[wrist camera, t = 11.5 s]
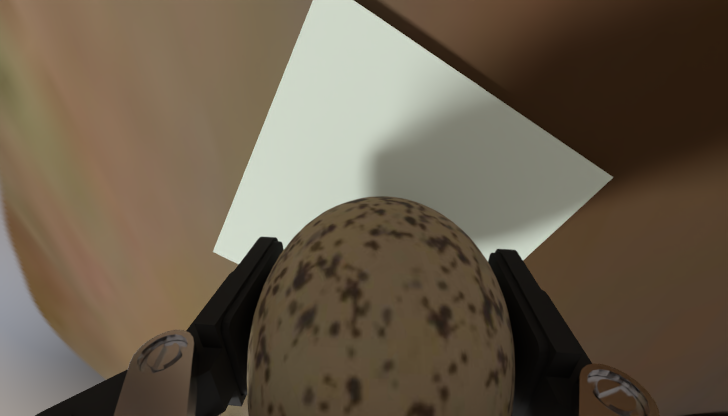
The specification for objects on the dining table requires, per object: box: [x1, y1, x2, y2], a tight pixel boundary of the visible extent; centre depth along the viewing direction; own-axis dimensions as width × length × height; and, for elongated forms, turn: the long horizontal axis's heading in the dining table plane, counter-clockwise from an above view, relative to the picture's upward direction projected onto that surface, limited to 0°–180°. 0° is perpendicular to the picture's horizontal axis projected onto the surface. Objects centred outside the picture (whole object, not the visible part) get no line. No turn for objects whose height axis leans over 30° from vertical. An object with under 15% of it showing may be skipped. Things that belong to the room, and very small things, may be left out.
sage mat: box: [213, 0, 613, 264], centre depth 15 cm, size 14×14×1 cm
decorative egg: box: [247, 196, 515, 416], centre depth 8 cm, size 7×7×10 cm
